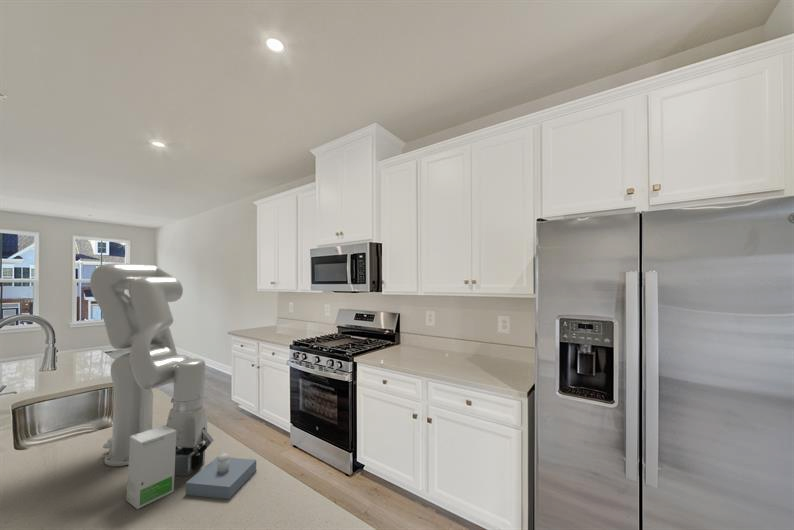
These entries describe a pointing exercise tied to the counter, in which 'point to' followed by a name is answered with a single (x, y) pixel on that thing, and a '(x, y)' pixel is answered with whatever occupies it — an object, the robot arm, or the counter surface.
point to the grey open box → (185, 461)
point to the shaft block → (221, 477)
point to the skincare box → (151, 465)
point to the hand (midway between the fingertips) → (185, 465)
